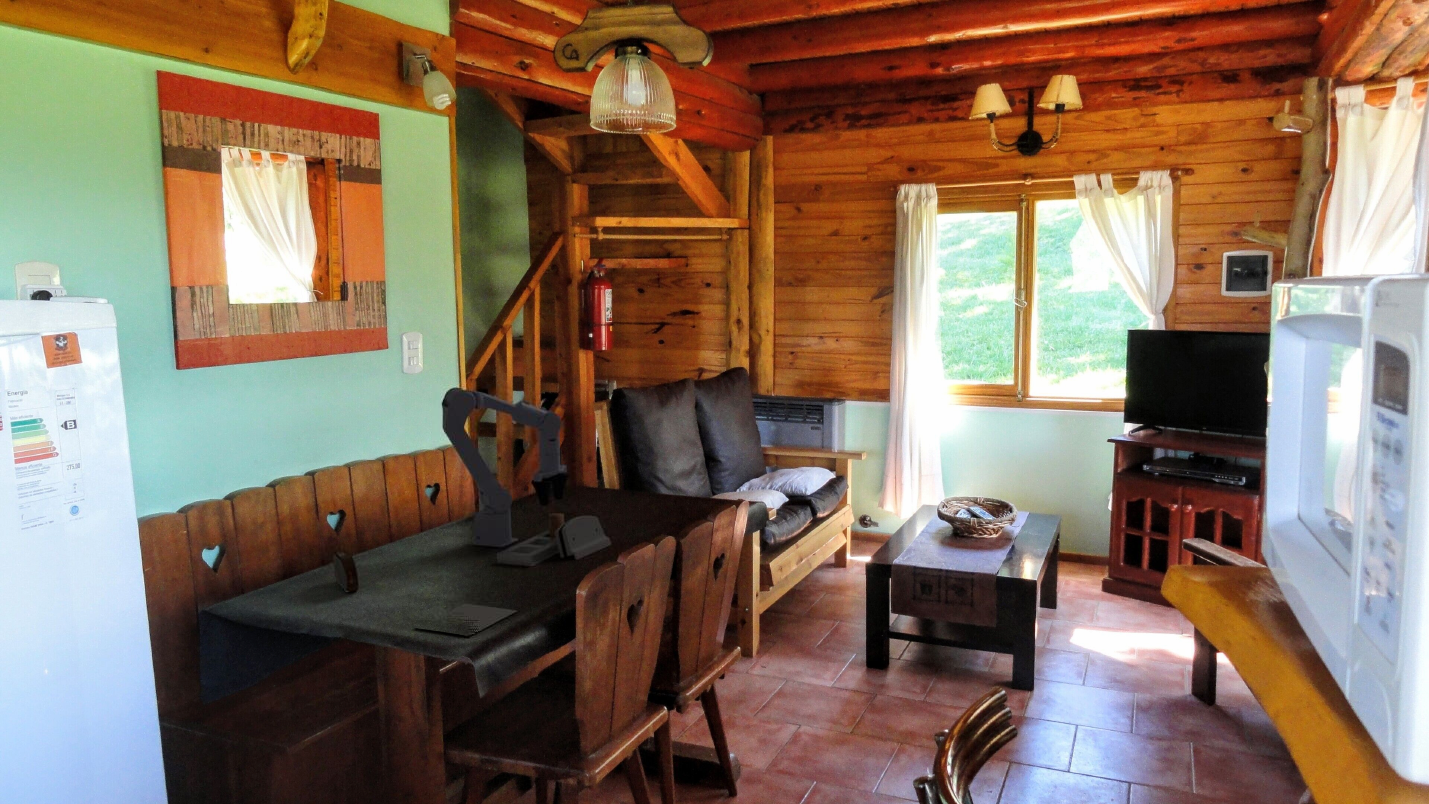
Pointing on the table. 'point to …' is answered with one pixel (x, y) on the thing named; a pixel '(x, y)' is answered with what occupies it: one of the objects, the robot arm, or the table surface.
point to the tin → (345, 570)
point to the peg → (555, 523)
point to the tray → (530, 551)
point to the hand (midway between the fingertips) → (551, 502)
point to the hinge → (581, 537)
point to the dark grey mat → (480, 615)
